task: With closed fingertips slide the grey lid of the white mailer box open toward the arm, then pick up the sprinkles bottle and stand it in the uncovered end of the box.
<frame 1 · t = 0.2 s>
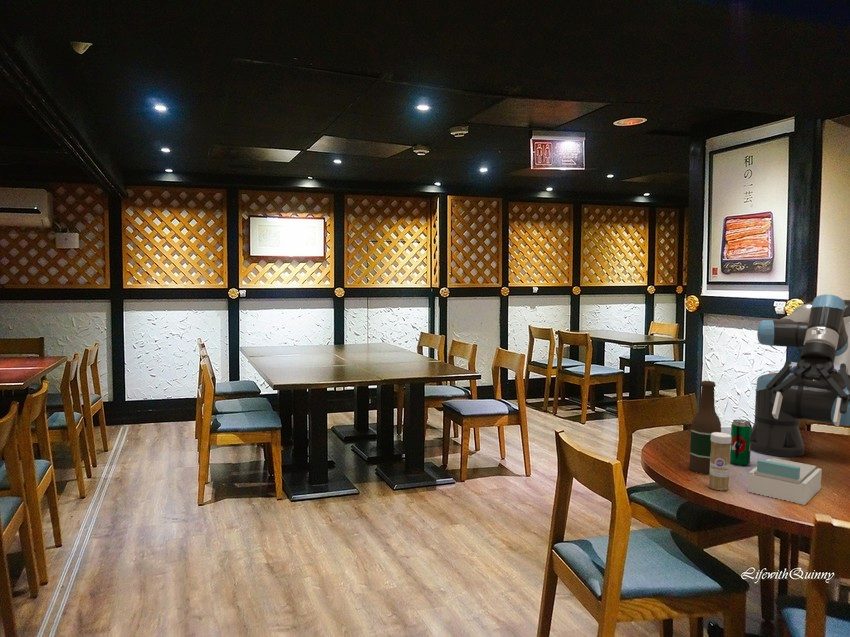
hand: (804, 420, 159), 16 cm above the table, tool tilted 35°, fingers open, 13 cm apart
lid: (785, 464, 153), point 6 cm above the table, slide at 0.0 cm
sprinkles bottle: (718, 489, 154), on the table
soda can: (739, 464, 175), on the table
beer bottle: (704, 471, 168), on the table
mailer box: (784, 490, 154), on the table
hard drive box: (776, 435, 209), on the table
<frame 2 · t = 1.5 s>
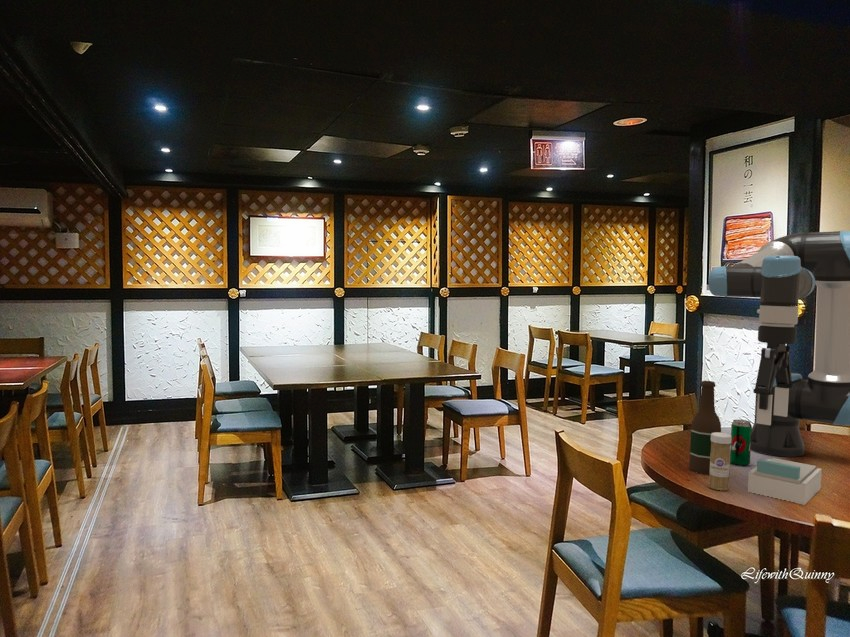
hand: (772, 419, 142), 20 cm above the table, tool pointing down, fingers open, 13 cm apart
nothing on the table moved.
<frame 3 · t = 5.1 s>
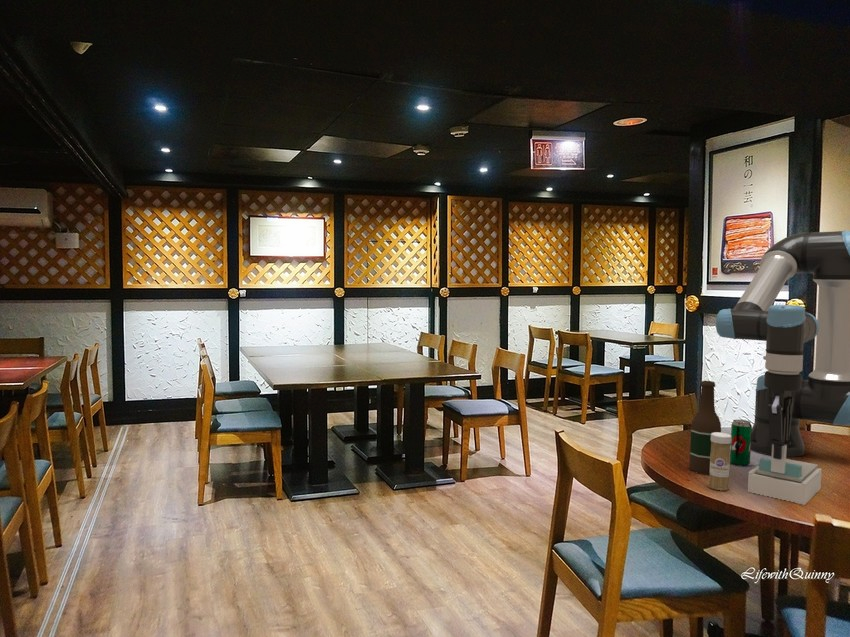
hand: (778, 471, 148), 6 cm above the table, tool pointing down, fingers closed
lid: (787, 463, 154), point 6 cm above the table, slide at 1.6 cm, touching gripper
everything else where it was.
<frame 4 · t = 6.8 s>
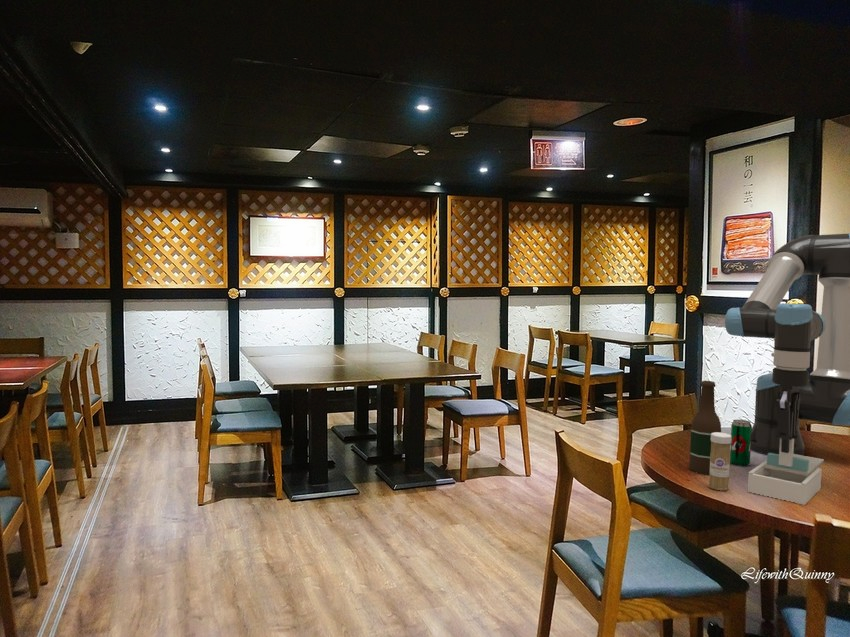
hand: (785, 464, 153), 6 cm above the table, tool pointing down, fingers closed
lid: (794, 458, 159), point 6 cm above the table, slide at 8.2 cm, touching gripper
everything else where it was.
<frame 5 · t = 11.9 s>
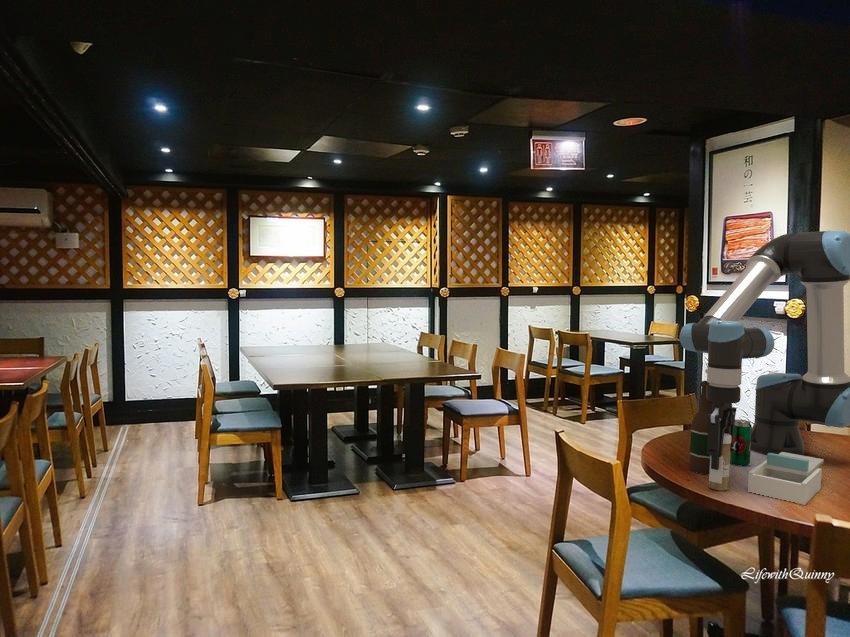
hand: (719, 479, 154), 2 cm above the table, tool pointing down, fingers closed on sprinkles bottle, 4 cm apart
lid: (794, 458, 159), point 6 cm above the table, slide at 8.2 cm
sprinkles bottle: (718, 489, 154), on the table, touching gripper
everything else where it was.
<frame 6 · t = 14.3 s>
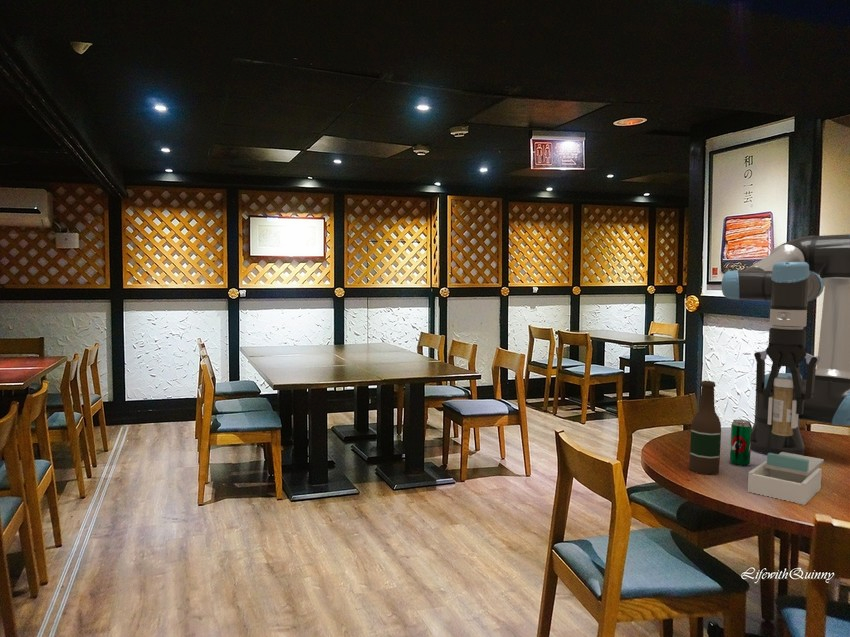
hand: (782, 425, 150), 16 cm above the table, tool pointing down, fingers closed on sprinkles bottle, 4 cm apart
sprinkles bottle: (782, 435, 151), point 14 cm above the table, touching gripper
everything else where it was.
when the fingers open (5 cm above the table, at t = 16.7 s): sprinkles bottle drops 2 cm, resting on mailer box.
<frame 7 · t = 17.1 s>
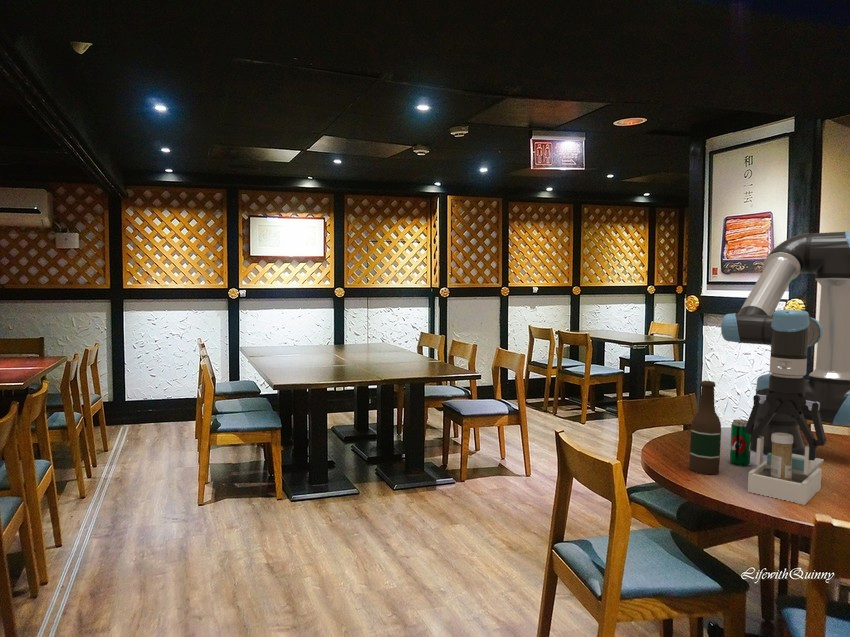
hand: (782, 468, 151), 6 cm above the table, tool pointing down, fingers open, 9 cm apart
sprinkles bottle: (780, 490, 151), point 1 cm above the table, touching mailer box
everything else where it was.
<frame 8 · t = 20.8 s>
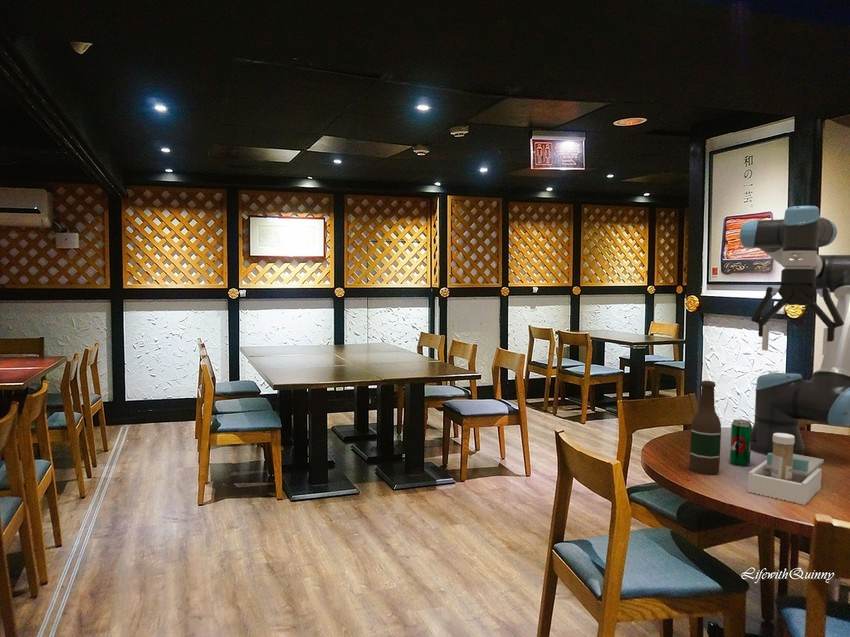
hand: (794, 352, 161), 33 cm above the table, tool pointing down, fingers open, 13 cm apart
nothing on the table moved.
at the end: lid slide at 8.2 cm; sprinkles bottle inside the target area on the mailer box (0.1 cm from its centre), point 0.6 cm above the mailer box's base; sprinkles bottle tilted 0° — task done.
